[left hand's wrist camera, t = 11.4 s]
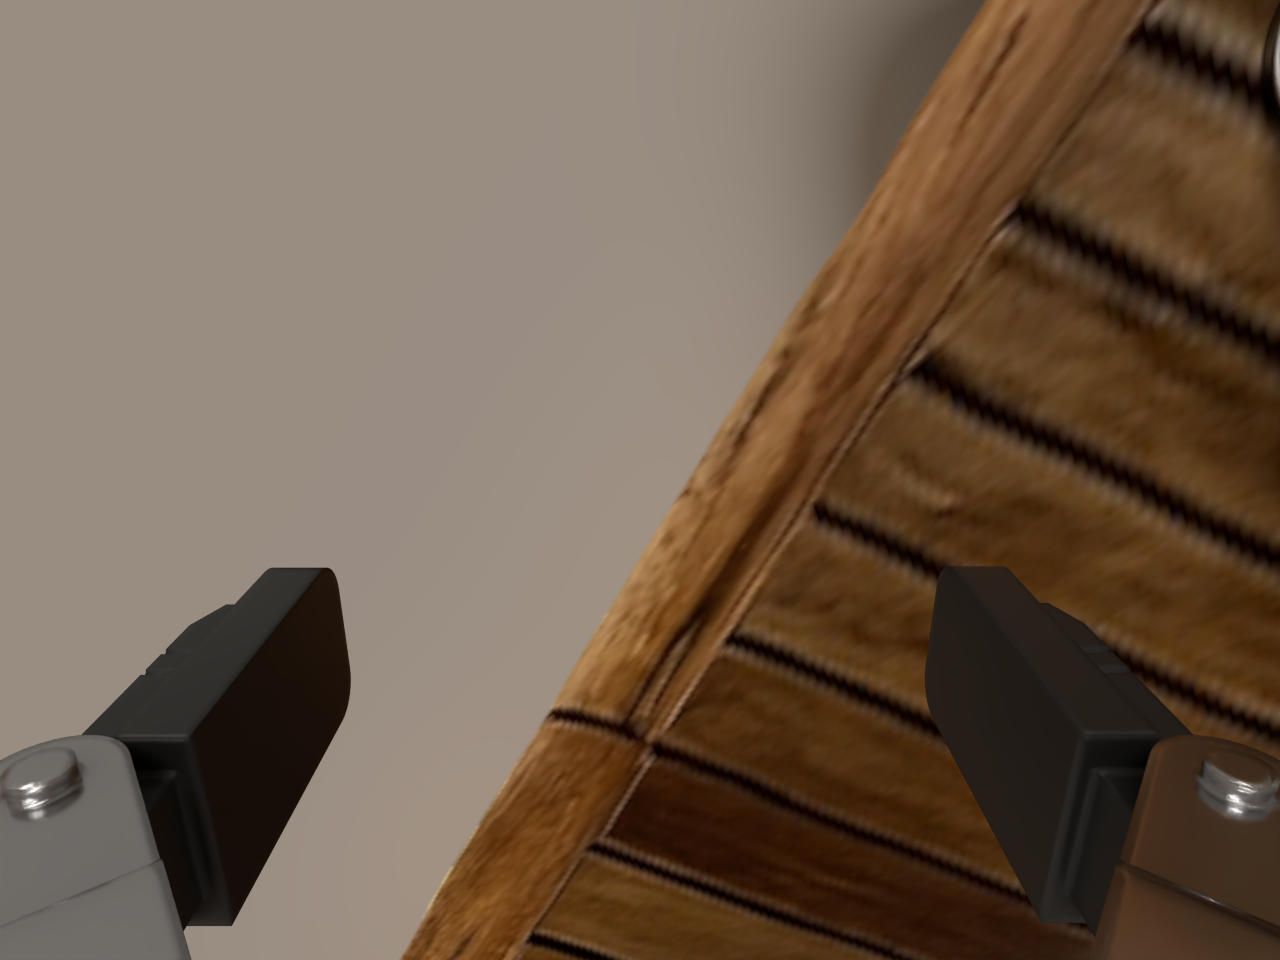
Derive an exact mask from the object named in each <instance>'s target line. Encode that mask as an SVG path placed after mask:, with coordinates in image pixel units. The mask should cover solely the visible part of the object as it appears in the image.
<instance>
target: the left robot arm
mask: <svg viewBox="0 0 1280 960" xmlns="http://www.w3.org/2000/svg"><path fill="white" fill-rule="evenodd" d="M1265 76H1266V84H1267V89H1268V93H1269V96H1270V99H1271V102H1272V105H1273V107H1274V109H1275V111H1276V113H1277V115H1278V116H1279V118H1280V3H1279V5H1278V8H1277V10H1276V12H1275V15H1274V18H1273V21H1272V24H1271V27H1270V31H1269V35H1268V39H1267V46H1266V53H1265ZM350 686H351V673H350V665H349V658H348V650H347V644H346V636H345V629H344V622H343V615H342V608H341V601H340V594H339V587H338V582H337V579H336V576H335V574H334V572H333V571H332V570H331V569H330V568H270V569H268V570H267V571H265V572H264V574H263V575H262V576H261V577H260V578H259V579H258V580H257V581H256V582H255V583H254V584H253V585H252V586H251V587H250V589H249V590H248V591H247V592H246V593H245V594H244V595H243V596H242V597H241V598H240V599H239V600H238V601H237V603H236V604H235V605H225V606H223V607H221V608H219V609H218V610H216V611H214V612H212V613H211V614H209V615H207V616H205V617H204V618H202V619H200V620H198V621H196V622H195V623H193V624H191V625H190V626H189V627H188V628H187V629H186V630H185V631H184V632H183V633H182V634H181V635H180V636H179V637H178V638H177V639H176V640H175V641H174V642H173V643H172V644H171V645H170V646H169V647H168V648H167V649H166V654H161V655H160V656H159V657H158V658H157V659H156V660H155V661H154V662H153V663H152V664H151V665H150V666H149V667H148V668H147V669H146V674H145V675H140V676H139V677H138V678H137V679H136V680H135V681H134V682H133V683H132V684H131V685H130V686H129V687H128V688H127V689H126V690H125V691H124V693H122V694H121V695H120V696H119V697H118V699H116V700H115V701H114V703H113V704H112V705H111V706H110V707H109V708H108V709H107V710H106V711H105V712H104V713H103V714H102V715H101V716H100V717H99V718H98V719H97V720H96V721H95V722H94V723H93V724H92V725H91V726H90V727H89V728H88V729H87V730H86V731H85V732H84V733H83V734H82V735H79V736H71V737H65V738H60V739H55V740H51V741H47V742H44V743H40V744H37V745H34V746H32V747H29V748H26V749H23V750H21V751H19V752H17V753H14V754H12V755H10V756H8V757H6V758H4V759H2V760H0V960H191V957H190V953H189V950H188V946H187V943H186V939H185V936H184V932H183V931H184V929H185V928H186V926H232V924H233V923H234V921H235V919H236V917H237V915H238V913H239V911H240V910H241V908H242V906H243V904H244V902H245V900H246V898H247V897H248V895H249V893H250V891H251V889H252V887H253V885H254V884H255V882H256V880H257V878H258V876H259V874H260V873H261V871H262V869H263V867H264V865H265V863H266V861H267V860H268V858H269V856H270V854H271V852H272V850H273V848H274V847H275V845H276V843H277V841H278V839H279V837H280V835H281V834H282V832H283V830H284V828H285V826H286V824H287V822H288V821H289V819H290V817H291V815H292V813H293V811H294V809H295V808H296V806H297V804H298V802H299V800H300V798H301V797H302V795H303V793H304V791H305V789H306V787H307V785H308V783H309V782H310V780H311V778H312V776H313V774H314V772H315V770H316V769H317V767H318V765H319V763H320V761H321V759H322V758H323V756H324V754H325V752H326V750H327V748H328V746H329V745H330V743H331V741H332V739H333V737H334V735H335V733H336V732H337V730H338V728H339V726H340V724H341V722H342V720H343V718H344V716H345V713H346V710H347V706H348V702H349V696H350ZM925 689H926V697H927V702H928V706H929V710H930V713H931V716H932V718H933V720H934V722H935V724H936V725H937V727H938V729H939V731H940V733H941V735H942V737H943V739H944V740H945V742H946V744H947V746H948V748H949V750H950V752H951V754H952V755H953V757H954V759H955V761H956V763H957V765H958V767H959V769H960V770H961V772H962V774H963V776H964V778H965V780H966V782H967V784H968V785H969V787H970V789H971V791H972V793H973V795H974V797H975V799H976V800H977V802H978V804H979V806H980V808H981V810H982V812H983V814H984V816H985V817H986V819H987V821H988V823H989V825H990V827H991V829H992V831H993V832H994V834H995V836H996V838H997V840H998V842H999V844H1000V846H1001V847H1002V849H1003V851H1004V853H1005V855H1006V857H1007V859H1008V861H1009V862H1010V864H1011V866H1012V868H1013V870H1014V872H1015V874H1016V876H1017V877H1018V879H1019V881H1020V883H1021V885H1022V887H1023V889H1024V891H1025V892H1026V894H1027V896H1028V898H1029V900H1030V902H1031V904H1032V906H1033V907H1034V909H1035V911H1036V913H1037V915H1038V917H1039V919H1040V921H1041V922H1042V923H1087V925H1088V927H1089V928H1090V930H1091V932H1092V933H1093V935H1094V937H1095V939H1094V943H1093V946H1092V950H1091V953H1090V957H1089V960H1280V760H1278V759H1276V758H1274V757H1272V756H1270V755H1268V754H1266V753H1263V752H1261V751H1259V750H1257V749H1254V748H1251V747H1248V746H1246V745H1243V744H1240V743H1236V742H1233V741H1229V740H1225V739H1220V738H1216V737H1209V736H1201V735H1193V734H1192V733H1191V732H1190V731H1189V730H1188V729H1187V728H1186V727H1185V726H1184V725H1183V724H1182V723H1181V722H1180V721H1179V720H1178V719H1177V718H1176V717H1175V716H1174V714H1173V713H1172V712H1171V711H1170V710H1169V709H1168V708H1167V707H1166V706H1165V705H1164V704H1163V703H1162V702H1161V701H1160V700H1159V699H1158V698H1157V697H1156V696H1155V695H1154V694H1153V693H1152V692H1151V691H1150V690H1149V689H1148V688H1147V687H1146V686H1145V685H1144V684H1143V683H1142V682H1141V681H1140V680H1139V679H1138V678H1137V677H1136V676H1135V675H1134V674H1133V673H1128V667H1127V666H1126V665H1125V664H1124V663H1123V662H1122V661H1121V660H1120V659H1119V658H1118V657H1117V656H1116V655H1115V654H1114V653H1109V652H1108V647H1107V646H1106V645H1105V644H1104V643H1103V642H1102V641H1101V640H1100V639H1099V638H1098V637H1097V636H1096V635H1095V634H1094V633H1093V632H1092V631H1091V630H1090V629H1089V628H1088V627H1087V626H1086V625H1085V624H1084V623H1083V622H1081V621H1079V620H1077V619H1076V618H1074V617H1072V616H1070V615H1068V614H1067V613H1065V612H1063V611H1061V610H1060V609H1058V608H1056V607H1054V606H1053V605H1051V604H1049V603H1039V602H1038V601H1037V599H1036V598H1035V597H1034V596H1033V595H1032V594H1031V593H1030V592H1029V591H1028V590H1027V589H1026V587H1025V586H1024V585H1023V584H1022V583H1021V582H1020V581H1019V580H1018V579H1017V578H1016V577H1015V576H1014V574H1013V573H1012V572H1011V571H1010V570H1009V569H1008V568H1006V567H1001V566H947V567H945V568H944V569H943V570H942V572H941V573H940V576H939V579H938V583H937V588H936V596H935V603H934V610H933V617H932V624H931V632H930V639H929V646H928V653H927V660H926V668H925Z"/></svg>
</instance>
